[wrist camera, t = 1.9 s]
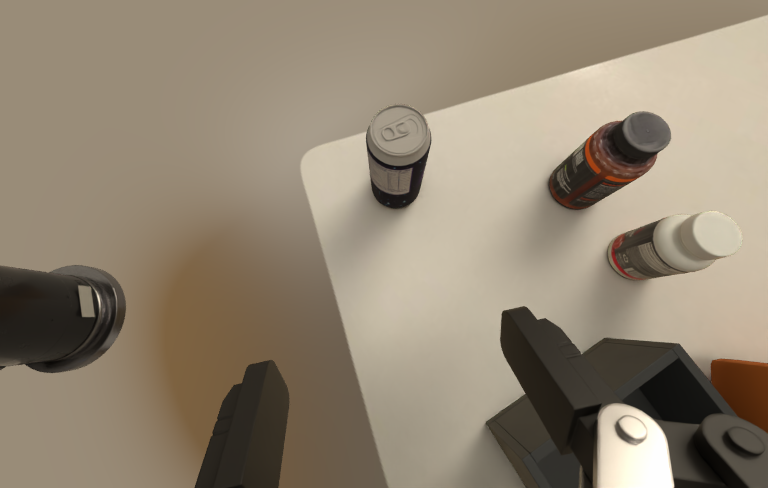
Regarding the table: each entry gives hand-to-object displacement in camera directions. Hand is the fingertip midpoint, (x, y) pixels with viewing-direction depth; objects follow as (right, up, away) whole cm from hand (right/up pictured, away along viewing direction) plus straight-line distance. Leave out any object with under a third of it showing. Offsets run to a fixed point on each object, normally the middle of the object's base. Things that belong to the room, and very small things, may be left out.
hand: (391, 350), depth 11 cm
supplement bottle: (+22, +10, +27) cm, 36 cm away
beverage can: (+1, +10, +27) cm, 29 cm away
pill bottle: (+27, +2, +25) cm, 37 cm away
